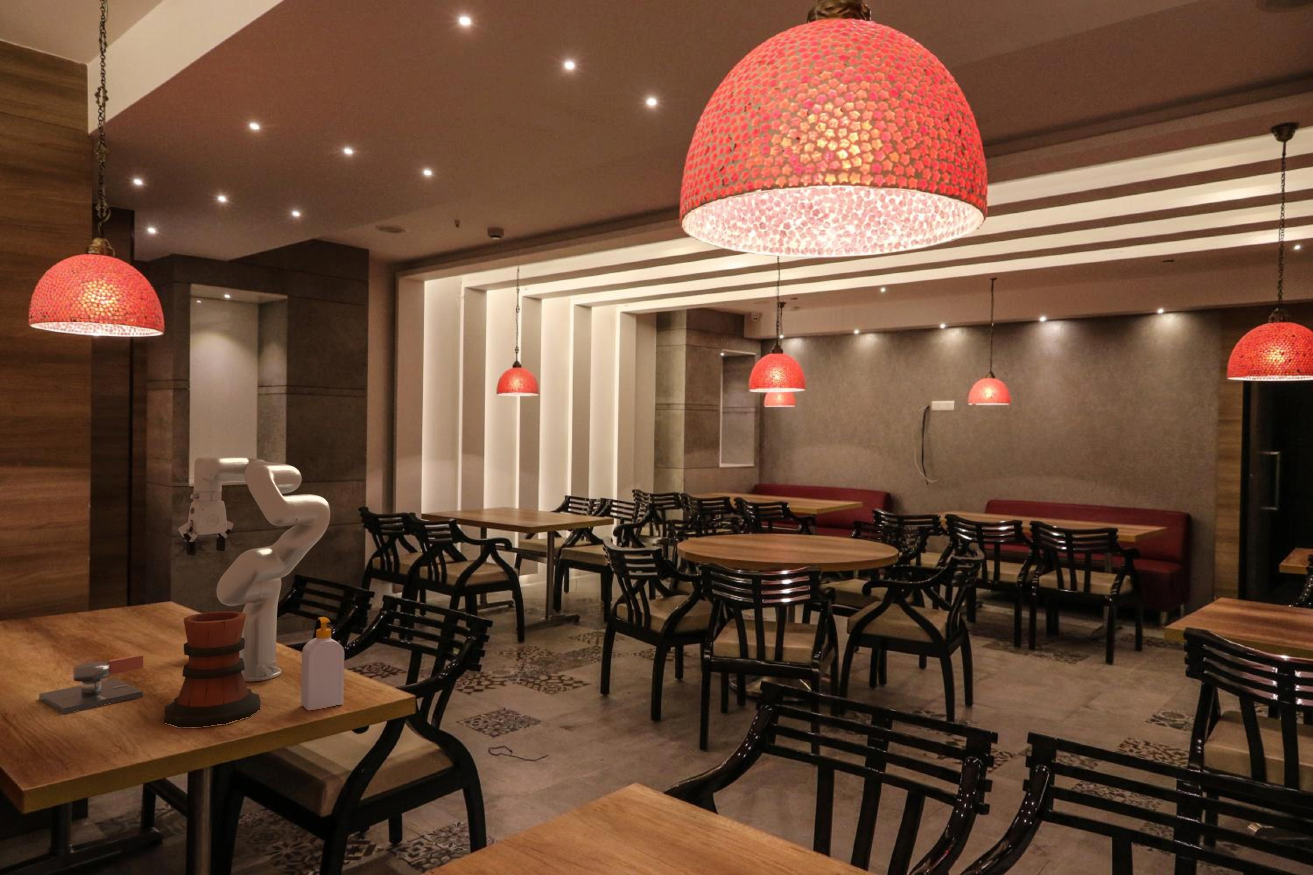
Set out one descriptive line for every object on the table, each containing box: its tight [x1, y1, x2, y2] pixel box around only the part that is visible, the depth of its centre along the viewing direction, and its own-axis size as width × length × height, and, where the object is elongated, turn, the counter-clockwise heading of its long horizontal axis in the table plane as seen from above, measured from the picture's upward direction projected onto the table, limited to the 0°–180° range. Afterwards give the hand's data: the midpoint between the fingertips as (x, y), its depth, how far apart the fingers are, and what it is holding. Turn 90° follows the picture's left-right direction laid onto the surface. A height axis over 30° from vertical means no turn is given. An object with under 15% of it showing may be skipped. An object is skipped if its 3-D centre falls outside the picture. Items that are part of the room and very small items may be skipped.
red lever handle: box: [72, 654, 144, 683], centre depth 218 cm, size 16×10×4 cm, turn 143°
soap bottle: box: [300, 616, 345, 711], centre depth 213 cm, size 9×7×23 cm
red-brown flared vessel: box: [163, 610, 261, 727], centre depth 207 cm, size 22×25×25 cm
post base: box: [38, 678, 144, 715], centre depth 215 cm, size 18×18×5 cm
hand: (206, 552), depth 248 cm, fingers open, 9 cm apart
